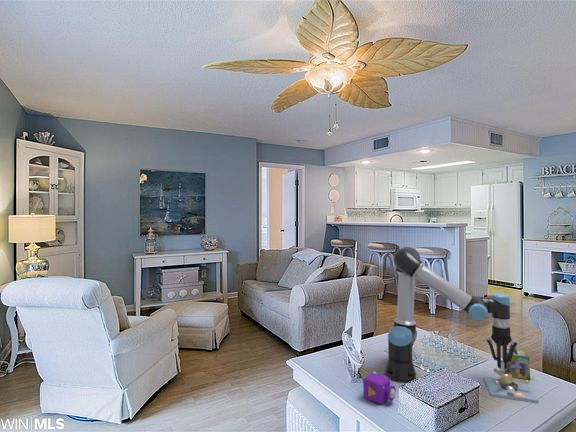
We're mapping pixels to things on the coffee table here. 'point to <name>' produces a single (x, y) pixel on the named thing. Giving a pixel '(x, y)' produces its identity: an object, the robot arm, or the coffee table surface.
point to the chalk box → (519, 365)
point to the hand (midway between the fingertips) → (502, 374)
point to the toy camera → (378, 388)
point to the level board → (520, 394)
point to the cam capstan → (508, 381)
